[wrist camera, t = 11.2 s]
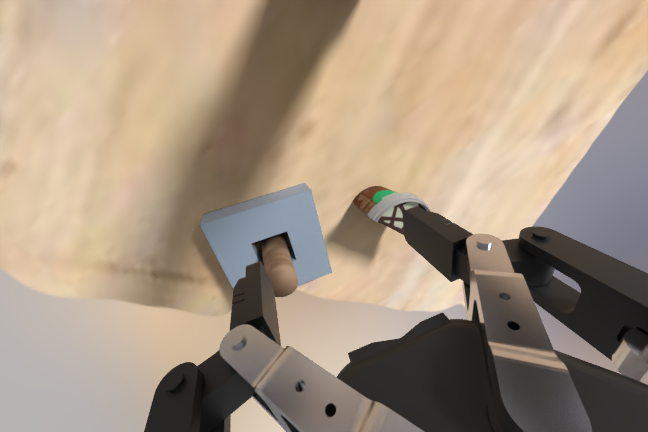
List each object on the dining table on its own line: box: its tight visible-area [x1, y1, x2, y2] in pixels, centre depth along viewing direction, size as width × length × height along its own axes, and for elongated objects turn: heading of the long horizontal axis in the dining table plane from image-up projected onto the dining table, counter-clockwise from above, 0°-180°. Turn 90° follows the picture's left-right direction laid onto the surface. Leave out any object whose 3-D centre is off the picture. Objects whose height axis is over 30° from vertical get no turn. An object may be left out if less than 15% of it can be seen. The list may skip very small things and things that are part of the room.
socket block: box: [200, 183, 332, 290], centre depth 39 cm, size 16×16×4 cm
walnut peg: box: [261, 233, 298, 297], centre depth 35 cm, size 4×4×12 cm
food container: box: [353, 186, 431, 235], centre depth 40 cm, size 12×6×10 cm, turn 59°
